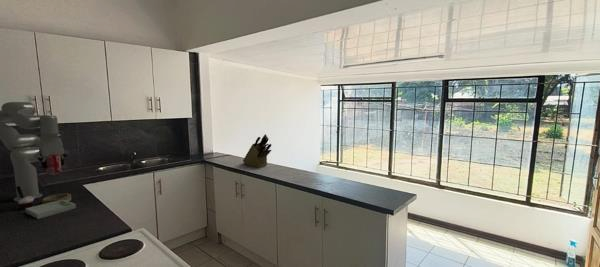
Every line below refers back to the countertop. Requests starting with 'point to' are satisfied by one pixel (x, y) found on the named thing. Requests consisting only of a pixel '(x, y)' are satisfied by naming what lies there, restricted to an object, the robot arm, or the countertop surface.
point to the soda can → (53, 164)
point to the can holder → (56, 198)
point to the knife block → (258, 153)
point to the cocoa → (24, 200)
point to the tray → (50, 208)
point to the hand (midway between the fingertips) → (53, 166)
